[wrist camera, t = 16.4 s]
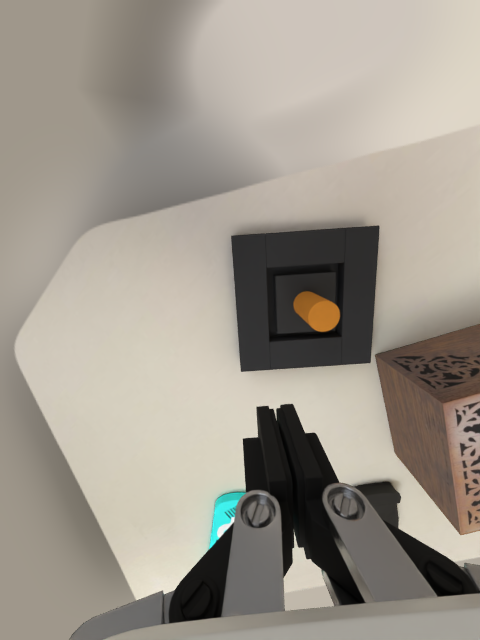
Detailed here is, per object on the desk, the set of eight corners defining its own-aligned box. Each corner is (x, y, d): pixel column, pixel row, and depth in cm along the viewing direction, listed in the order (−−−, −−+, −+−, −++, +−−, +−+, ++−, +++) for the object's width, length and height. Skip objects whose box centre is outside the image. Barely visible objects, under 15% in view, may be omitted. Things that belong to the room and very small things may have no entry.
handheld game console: (290, 496, 35) (292, 506, 33) (271, 579, 38) (272, 591, 37) (217, 489, 34) (216, 498, 33) (205, 574, 38) (204, 585, 37)
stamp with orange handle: (273, 274, 26) (286, 281, 20) (330, 271, 26) (363, 276, 20) (275, 329, 28) (287, 354, 21) (329, 326, 28) (359, 349, 21)
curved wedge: (293, 495, 35) (296, 506, 33) (393, 479, 34) (400, 490, 32) (300, 540, 37) (303, 553, 35) (394, 526, 36) (402, 538, 34)
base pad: (231, 237, 26) (231, 235, 24) (367, 228, 26) (379, 225, 24) (240, 362, 30) (241, 371, 27) (360, 354, 30) (370, 363, 27)
